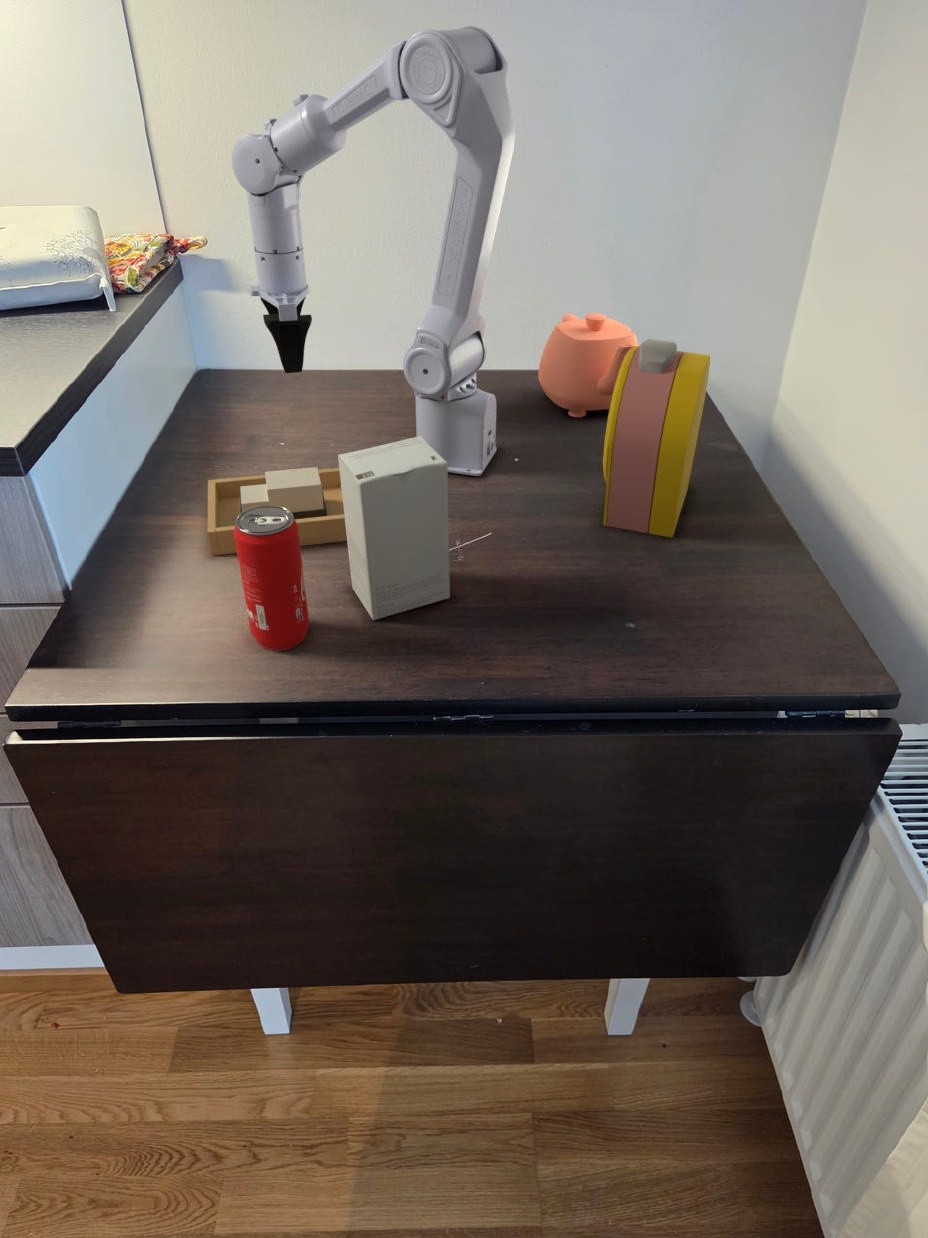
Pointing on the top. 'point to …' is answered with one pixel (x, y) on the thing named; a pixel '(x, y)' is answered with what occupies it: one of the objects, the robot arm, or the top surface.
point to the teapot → (584, 362)
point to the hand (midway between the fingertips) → (291, 360)
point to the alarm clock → (652, 436)
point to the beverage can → (272, 576)
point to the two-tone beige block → (288, 493)
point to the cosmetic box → (396, 525)
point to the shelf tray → (310, 530)
